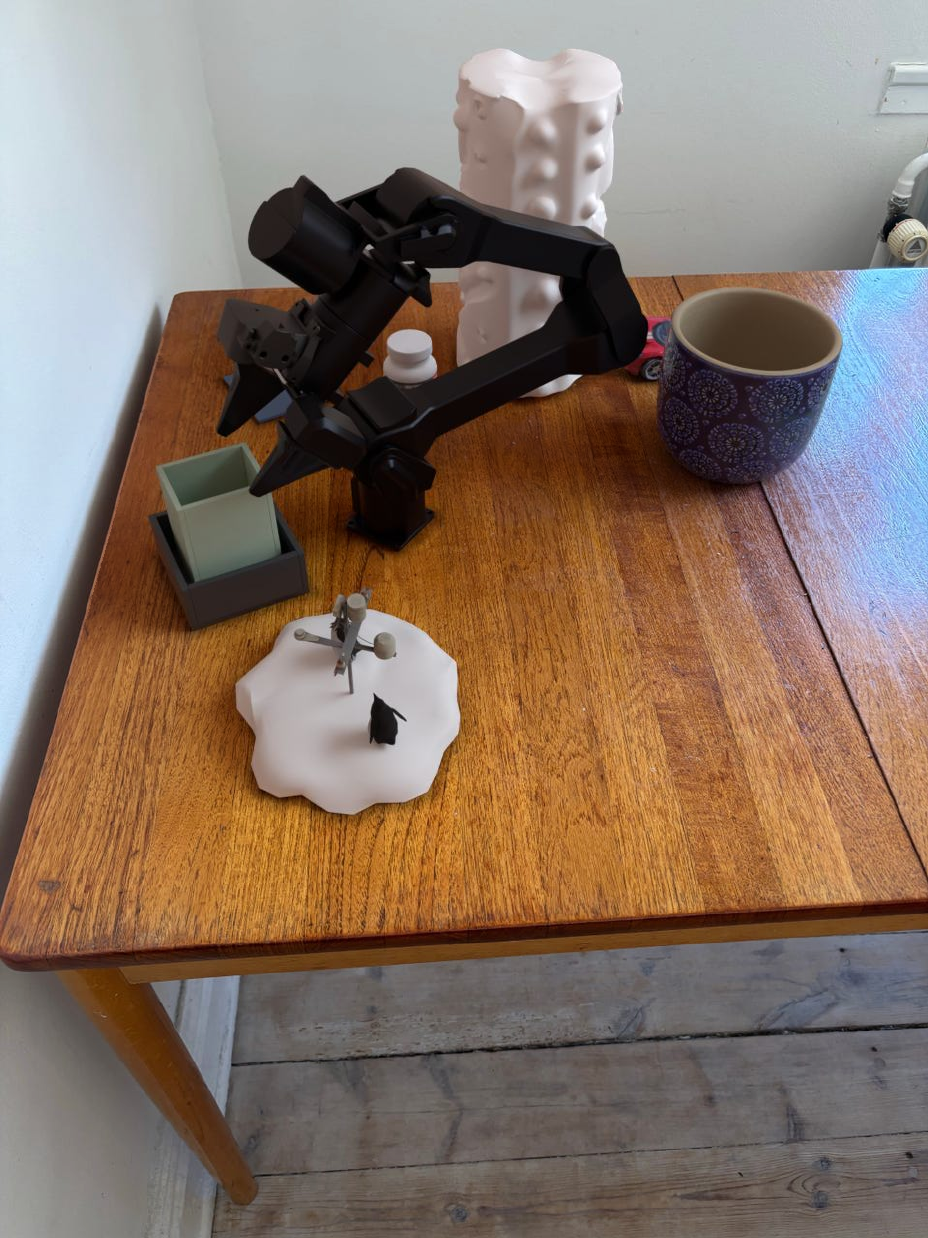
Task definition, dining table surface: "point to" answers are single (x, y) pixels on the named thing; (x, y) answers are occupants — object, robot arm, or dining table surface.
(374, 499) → the robot arm
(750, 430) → the planter
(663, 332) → the toy car
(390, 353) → the pill bottle
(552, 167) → the vase
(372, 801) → the figurine
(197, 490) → the green basket
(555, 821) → the dining table surface
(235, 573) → the charcoal basket
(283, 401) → the mat
